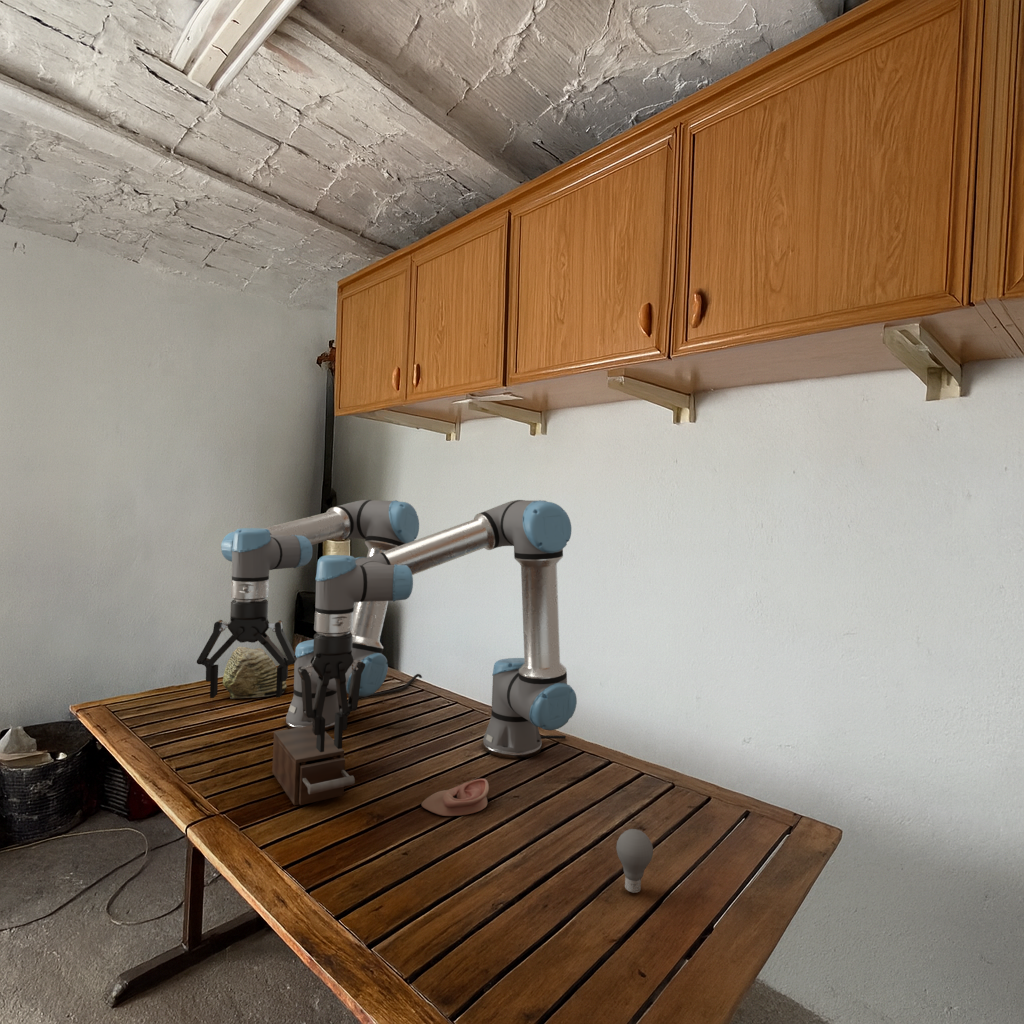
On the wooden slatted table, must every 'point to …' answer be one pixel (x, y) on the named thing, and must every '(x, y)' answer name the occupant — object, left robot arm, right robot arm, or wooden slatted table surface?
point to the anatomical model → (459, 799)
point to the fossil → (251, 674)
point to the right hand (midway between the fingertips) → (329, 747)
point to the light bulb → (634, 857)
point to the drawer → (322, 779)
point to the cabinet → (297, 756)
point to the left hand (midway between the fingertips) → (246, 695)
